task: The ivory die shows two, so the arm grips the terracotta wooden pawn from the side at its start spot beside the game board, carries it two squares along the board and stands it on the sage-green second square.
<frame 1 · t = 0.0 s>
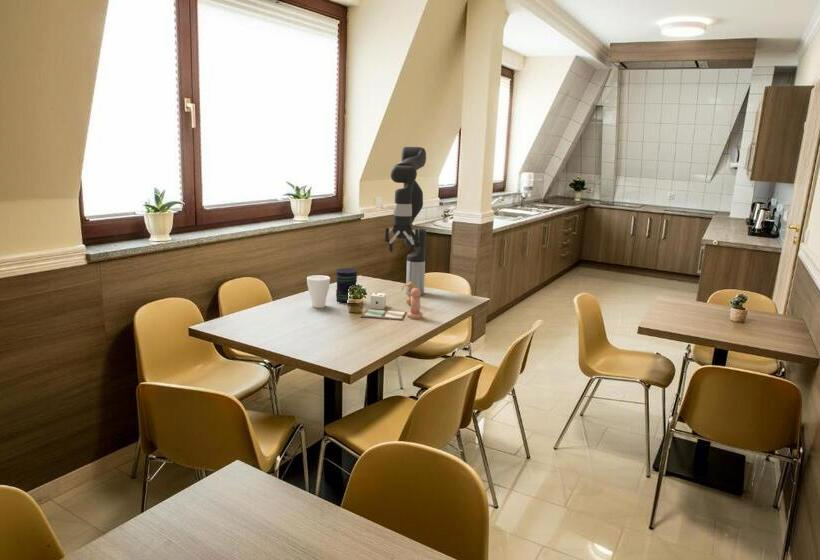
hand: (401, 252, 250), 29 cm above the table, tool pointing down, fingers open, 8 cm apart
figurine: (410, 305, 279), on the table
game board: (384, 315, 262), on the table
pawn: (414, 317, 260), on the table
cup: (318, 306, 273), on the table
storage jar: (346, 301, 284), on the table
die: (378, 307, 274), on the table
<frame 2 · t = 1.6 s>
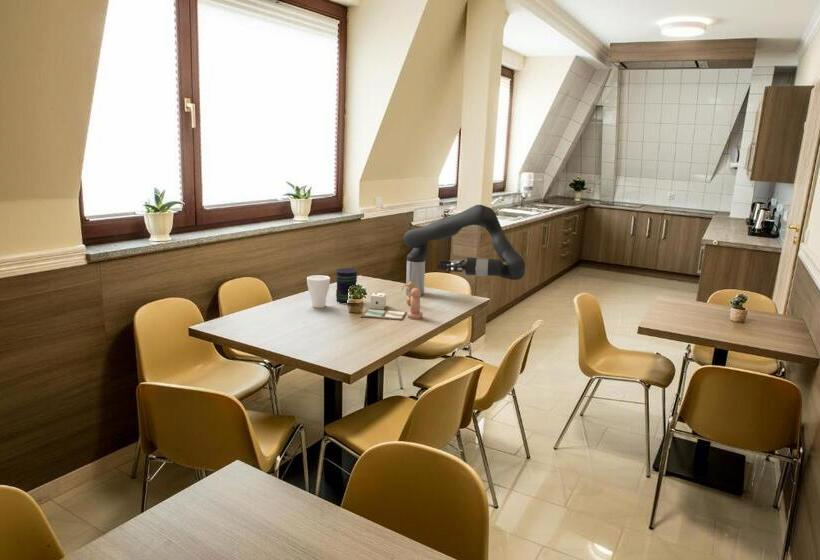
hand: (439, 264, 253), 24 cm above the table, tool horizontal, fingers open, 8 cm apart
nothing on the table moved.
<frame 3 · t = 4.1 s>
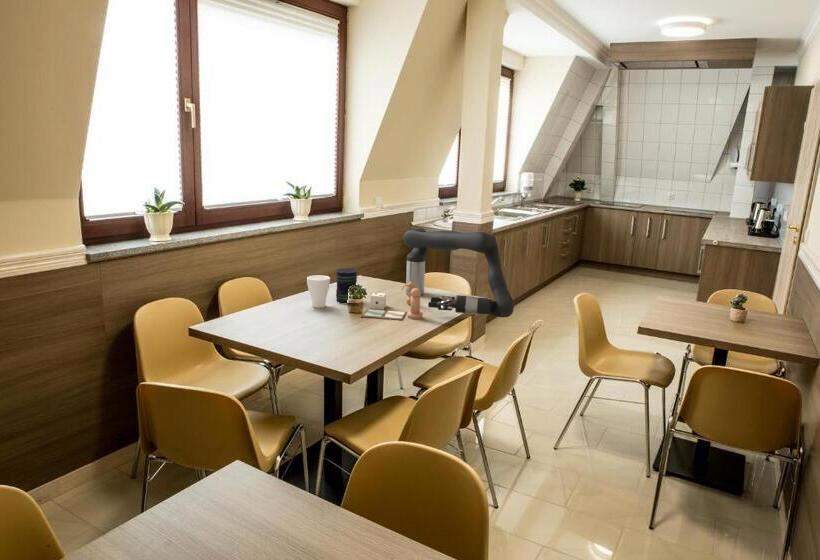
hand: (429, 301, 258), 7 cm above the table, tool horizontal, fingers open, 8 cm apart
nothing on the table moved.
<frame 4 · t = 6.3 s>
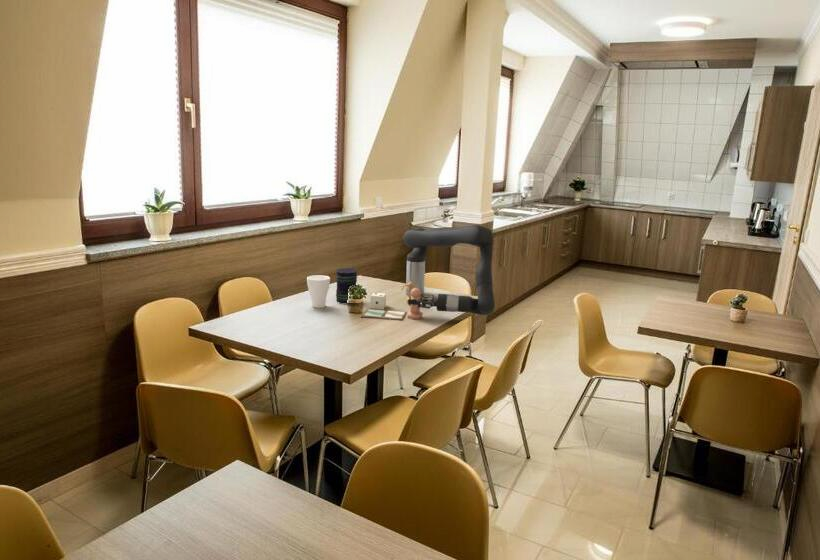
hand: (409, 300, 259), 8 cm above the table, tool horizontal, fingers closed on pawn, 4 cm apart
pawn: (414, 317, 260), on the table, touching gripper
everything else where it was.
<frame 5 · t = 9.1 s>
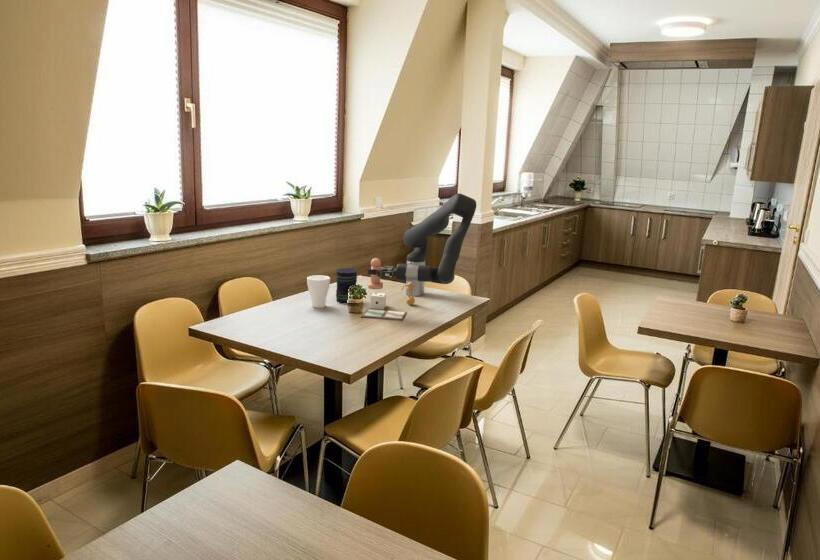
hand: (369, 270, 259), 20 cm above the table, tool horizontal, fingers closed on pawn, 4 cm apart
pawn: (375, 287, 260), point 12 cm above the table, touching gripper
everything else where it was.
when the fingers open (9 cm above the table, at t = 12.1 s): pawn stays where it is, resting on game board.
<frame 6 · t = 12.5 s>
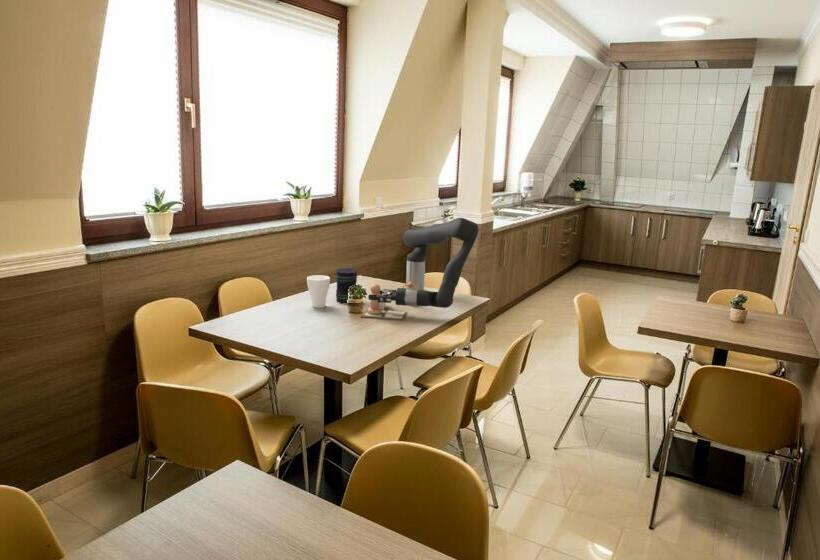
hand: (370, 294, 261), 9 cm above the table, tool horizontal, fingers open, 8 cm apart
pawn: (375, 312, 262), point 1 cm above the table, touching game board
everything else where it was.
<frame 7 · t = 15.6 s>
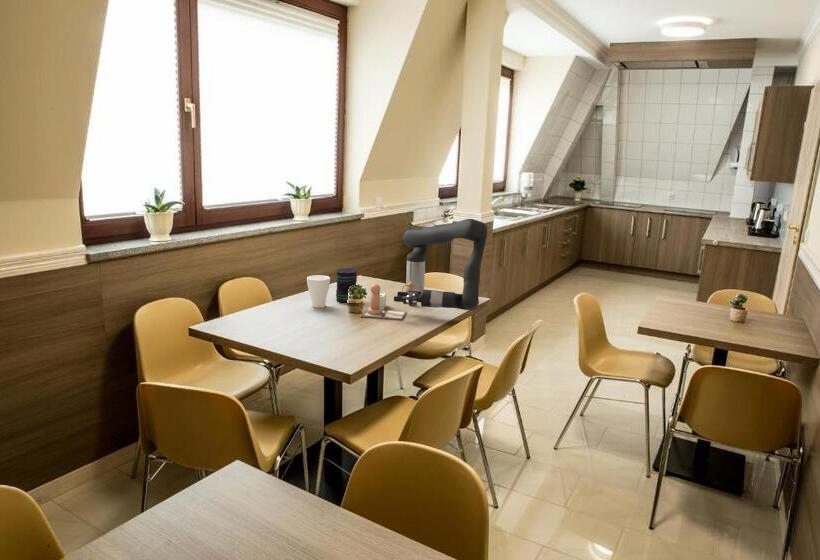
hand: (395, 296, 259), 9 cm above the table, tool horizontal, fingers open, 8 cm apart
nothing on the table moved.
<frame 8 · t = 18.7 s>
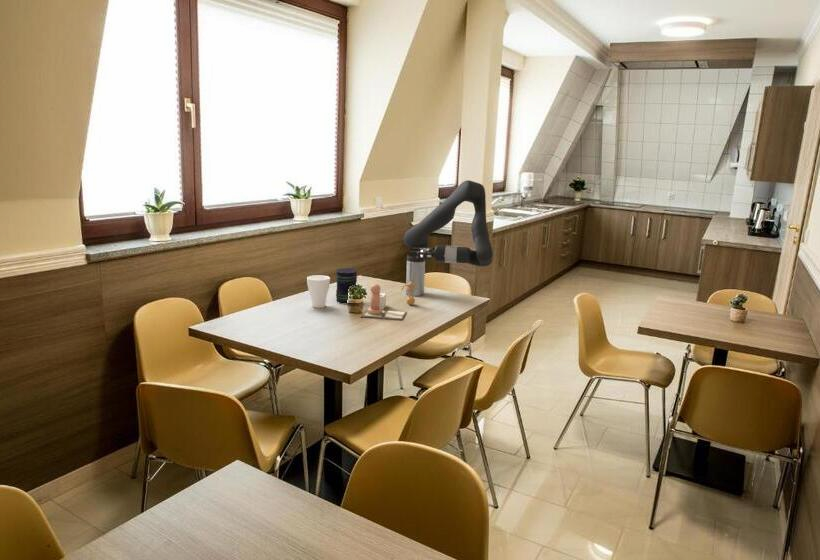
hand: (409, 252, 259), 28 cm above the table, tool horizontal, fingers open, 8 cm apart
nothing on the table moved.
at the end: pawn inside the target area (0.1 cm from its centre), point 0.7 cm above the table; pawn tilted 0°; the gripper is holding nothing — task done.
